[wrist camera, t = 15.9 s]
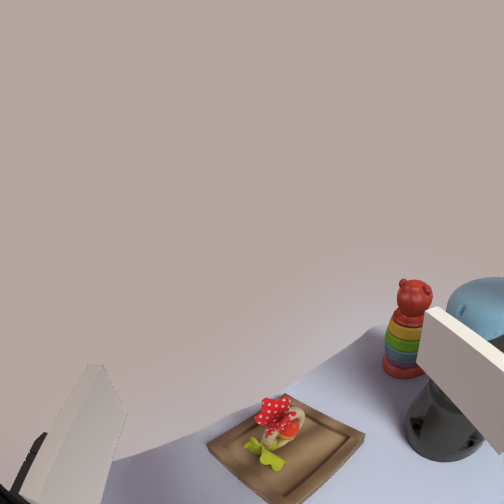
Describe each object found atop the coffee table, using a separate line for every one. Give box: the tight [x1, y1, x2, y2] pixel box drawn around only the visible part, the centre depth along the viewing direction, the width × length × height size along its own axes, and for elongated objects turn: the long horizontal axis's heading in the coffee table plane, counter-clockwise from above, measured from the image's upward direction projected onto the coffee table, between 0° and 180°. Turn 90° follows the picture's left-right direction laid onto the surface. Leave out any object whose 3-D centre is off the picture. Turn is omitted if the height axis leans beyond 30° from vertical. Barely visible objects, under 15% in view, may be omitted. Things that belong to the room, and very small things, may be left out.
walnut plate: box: [207, 393, 365, 504], centre depth 33 cm, size 16×16×2 cm
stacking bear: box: [383, 279, 433, 378], centre depth 45 cm, size 11×10×18 cm
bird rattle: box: [243, 397, 305, 471], centre depth 32 cm, size 6×11×9 cm
